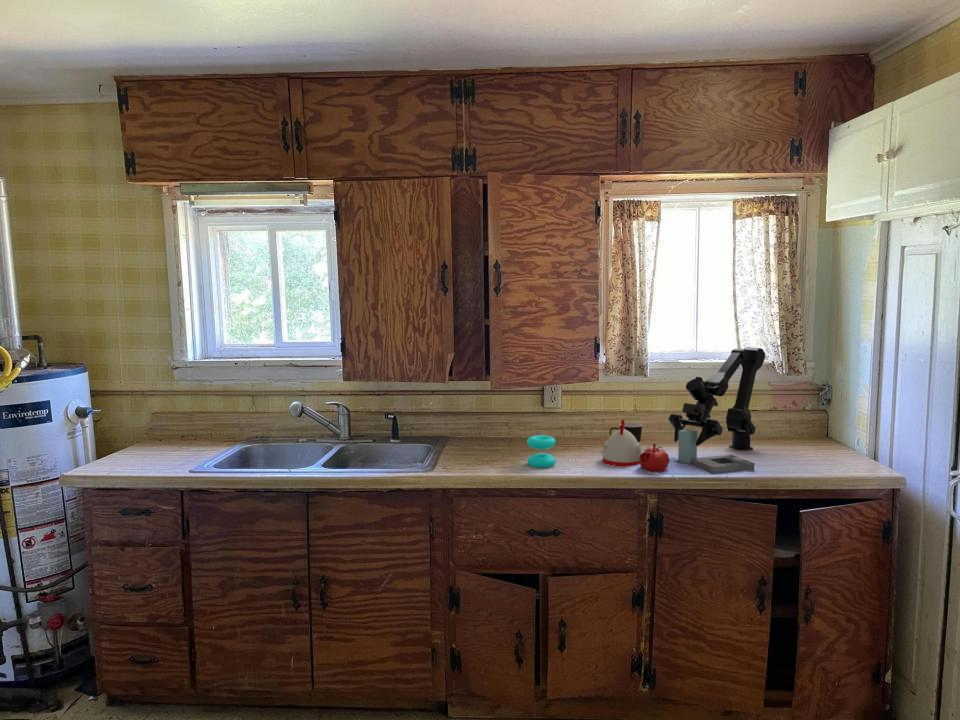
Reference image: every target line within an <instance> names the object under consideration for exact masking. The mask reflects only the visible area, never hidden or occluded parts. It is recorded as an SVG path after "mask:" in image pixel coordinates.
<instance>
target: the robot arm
mask: <svg viewBox="0 0 960 720" xmlns="http://www.w3.org/2000/svg"><path fill="white" fill-rule="evenodd" d="M765 359H766V352H765V351H764V349H763V348H761V347H747V346H746V347H744V348H733V349H732V350H731V352H730V355H728V358H726V360H725V361H724V363H722V366H721V367H720V368H719V369H718V371H717V372H716V373H715V374H713V375H711V376H708V378H707V379H706V380H703V378H702V377H701V376H696V377H695V378H693V379H691V380H689V381H688V382H686V385H685V389H686V391H687V392H688V394H690V396H691V397H692V399H693V400H695V401H696V402H695V404H694V403H687V402H683V406H682V409H681V412H682V413H684V414H685V416H686V418H684V417H683V416H682V415H681V414H677V413H671V414H669V416H668V421H669V422H670V424H671V426H672V427H673V428H674V438H673V441H674V442H675V443H676V442H679V431H680V430H684V429H686V428H685V427H686V426H690V427H695V428H701V432H700V433H699V436H697V442H696V446H697V447H699V446H700V445H701V444H703V443H704V442H706V441H708V440H709V439H711V438H713V437H716V436H722V434H723V432H724V430H723V427H722V425H721V424H720V421H719V420H718V419H712V418H711V417H712V416H711V412H712V409H713V408H714V407H718V406H719V403H718V400H717V398H715V397H723V396H724V395H726V392H727V391H728V389H729V387H730V386H729V382H730V380H731V378H732V377H733V375H734V374H735V373H736V371H737V370H738V368H739V367H740V366H741V368H742V370H741V375H740V380H739V384H738V388H737V389H738V390H737V393H736V399H735V403H734V405H733V406H732V407H729V408H728V409H727V414H726V416H725V424H726V427H727V428H726V429H727V432H732V433H731V434H732V435H731V437H732V438H731V440H732V442H731V444H730V445H728V448H732V449H734V450H738V451H745V450H753V449H754V447H753V446H751V435H754V434H755V432H756V426H755V425H754V423H753V422H752V414H751V412H750V408H749V406H750V402H751V398H752V393H753V390H754V389H753V388H754V386H755V380H756V374H757V371H759V370H760V369H761V368H762V367H763V364H764V361H765Z"/></svg>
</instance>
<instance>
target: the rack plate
mask: <svg viewBox="0 0 960 720" xmlns="http://www.w3.org/2000/svg"><path fill="white" fill-rule="evenodd" d="M691 466H694V467H696V468H699V469H701V470H703V471H706V472H708V473H710V474H713V475H715V474H723V473H733V472H744V471H748V470H754V471H755V462H753V461H749V460H746V459H745V458H741V457H739V456H737V455H733V454H727V455H714V456H705V457H697V458H692V465H691Z"/></svg>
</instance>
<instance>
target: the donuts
mask: <svg viewBox="0 0 960 720" xmlns="http://www.w3.org/2000/svg"><path fill="white" fill-rule="evenodd" d="M526 441H527V443H526V444H527V446H528V447H530V448H532V449H535V450H548V449H551V448H554V446H555V445H556V439H555V437H553V436H550V435H543V434H541V435H540V434H539V435H538V434H537V435H532V436H530V437H528V439H527V440H526ZM526 461H527V464H528V466H530V467H531V468H535V467H536V468H537V469H547V468H552V467H553V466H555V465H556V462H557V461H556V457H555V456H553V455H551V454H548V453H534V454H532V455H530V456H529V457H528V458H527V460H526Z"/></svg>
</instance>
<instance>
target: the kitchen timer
mask: <svg viewBox="0 0 960 720" xmlns="http://www.w3.org/2000/svg"><path fill="white" fill-rule="evenodd" d="M625 423H626V422H625V419H621V421H620V424H621V429H620V428H618V429H619V430H617V429H616V430H615V431H614V432H613V433H611V434H612V435H610V436H609V438H608V439H607V440H605V442H604V445H603V452H602V463H603V464H605V463H606V464H605V465H607V464H609V466H611V465H615V466H614V467H618V466H636V465H640V461H639V456H640V455H641V454H642V453H643V451H642V446H641V441H640V442H639V443H638V442H637V440H636V438H635V437H634V436H633V435H632V434H631V433H630V432H629V431H627V430H625Z"/></svg>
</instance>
